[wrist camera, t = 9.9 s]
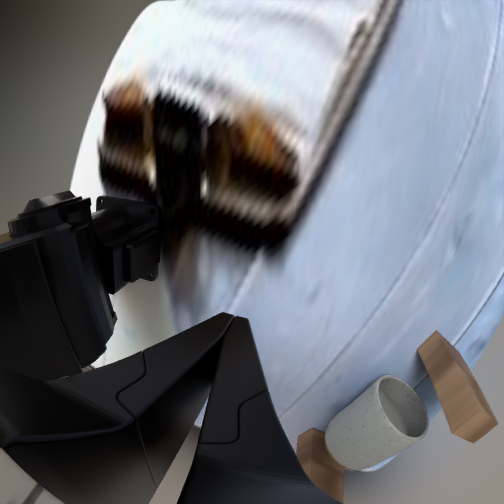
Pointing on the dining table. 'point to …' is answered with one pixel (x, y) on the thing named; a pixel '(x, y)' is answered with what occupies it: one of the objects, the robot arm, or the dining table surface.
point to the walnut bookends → (450, 396)
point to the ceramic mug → (377, 424)
